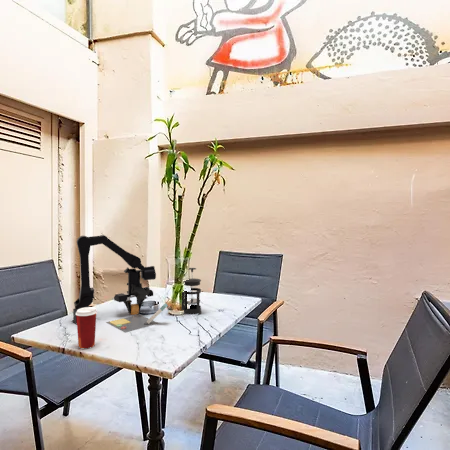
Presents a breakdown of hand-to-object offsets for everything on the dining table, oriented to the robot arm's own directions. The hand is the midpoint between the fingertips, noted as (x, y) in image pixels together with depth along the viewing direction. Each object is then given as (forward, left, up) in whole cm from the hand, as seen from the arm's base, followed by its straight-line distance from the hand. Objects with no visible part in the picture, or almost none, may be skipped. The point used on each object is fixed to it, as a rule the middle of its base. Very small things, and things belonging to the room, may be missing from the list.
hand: (134, 312), depth 168 cm
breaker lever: (-3, -17, 0) cm, 18 cm away
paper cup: (-33, -22, -1) cm, 40 cm away
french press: (+22, -17, -1) cm, 28 cm away
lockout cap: (0, 0, -1) cm, 1 cm away
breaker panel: (-8, -12, -1) cm, 15 cm away
